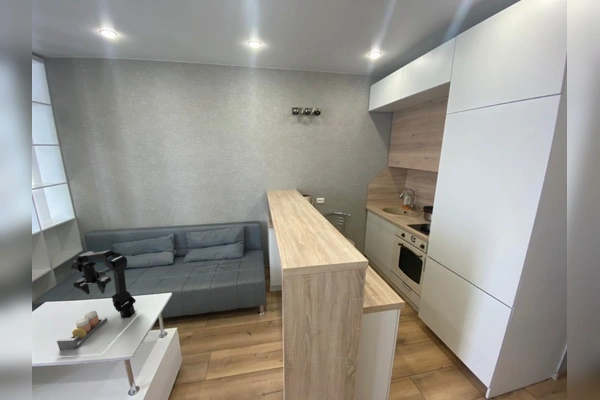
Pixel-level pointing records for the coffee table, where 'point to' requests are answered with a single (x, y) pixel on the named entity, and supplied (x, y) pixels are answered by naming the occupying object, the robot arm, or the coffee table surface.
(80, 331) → the yellow lumpy piece
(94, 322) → the jar
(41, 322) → the coffee table surface
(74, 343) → the tray
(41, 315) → the coffee table surface
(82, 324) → the jar
